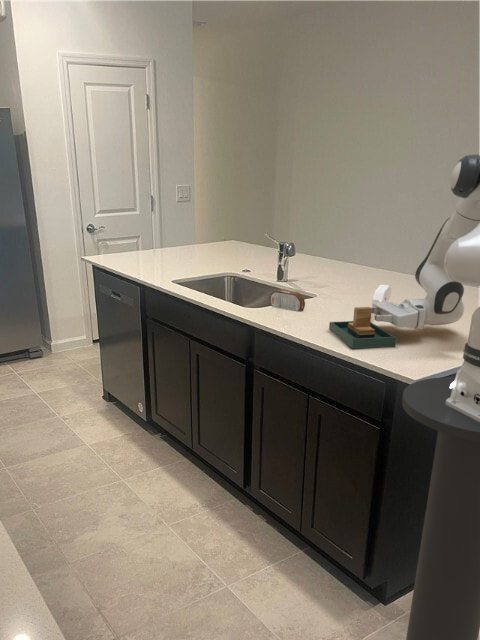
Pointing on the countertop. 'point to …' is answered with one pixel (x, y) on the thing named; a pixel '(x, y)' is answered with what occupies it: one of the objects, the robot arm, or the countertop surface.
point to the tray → (379, 339)
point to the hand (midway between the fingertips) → (369, 314)
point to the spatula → (381, 295)
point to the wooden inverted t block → (361, 323)
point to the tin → (287, 300)
